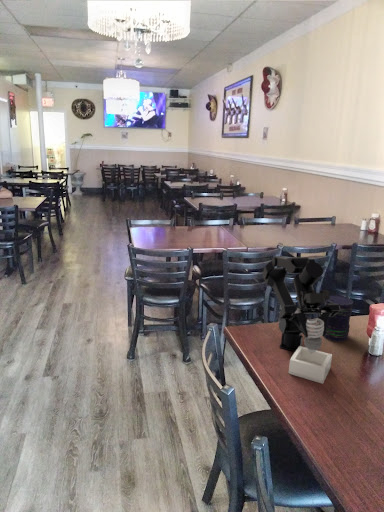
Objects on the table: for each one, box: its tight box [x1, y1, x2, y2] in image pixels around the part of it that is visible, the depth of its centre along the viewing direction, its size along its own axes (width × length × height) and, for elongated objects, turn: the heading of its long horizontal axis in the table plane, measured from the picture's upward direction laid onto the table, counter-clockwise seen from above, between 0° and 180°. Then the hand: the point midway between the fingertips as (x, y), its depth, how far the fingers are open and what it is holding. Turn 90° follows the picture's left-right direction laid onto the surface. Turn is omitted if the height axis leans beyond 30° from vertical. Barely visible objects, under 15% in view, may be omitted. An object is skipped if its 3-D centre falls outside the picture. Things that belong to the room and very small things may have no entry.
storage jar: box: [321, 294, 354, 343], centre depth 154 cm, size 10×10×15 cm
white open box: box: [288, 345, 333, 384], centre depth 130 cm, size 11×11×5 cm
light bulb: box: [303, 317, 324, 353], centre depth 127 cm, size 6×6×12 cm
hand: (315, 336), depth 126 cm, fingers closed on light bulb, 5 cm apart
